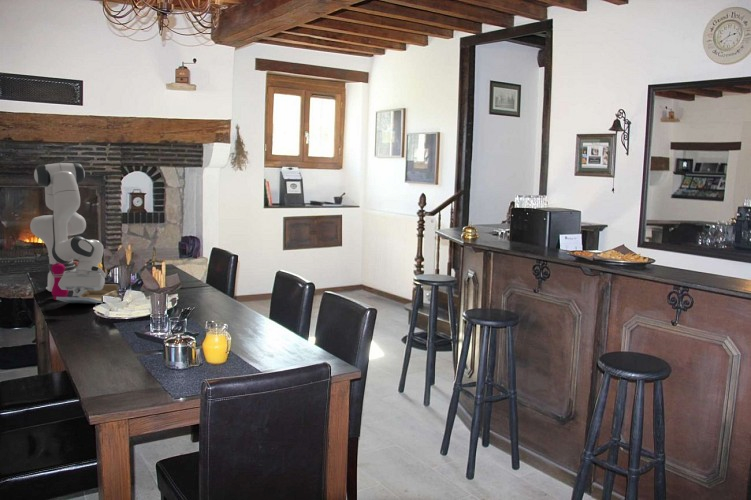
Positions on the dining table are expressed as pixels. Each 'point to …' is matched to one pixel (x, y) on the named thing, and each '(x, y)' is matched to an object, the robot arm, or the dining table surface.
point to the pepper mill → (58, 273)
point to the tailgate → (78, 300)
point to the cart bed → (102, 292)
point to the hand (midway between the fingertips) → (76, 297)
